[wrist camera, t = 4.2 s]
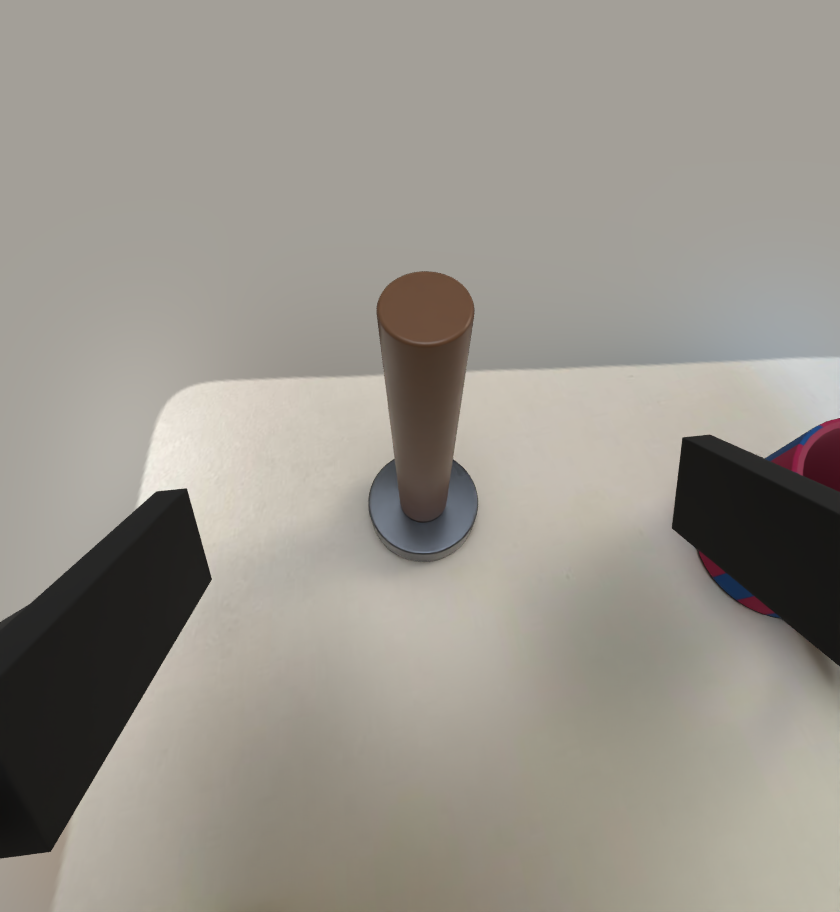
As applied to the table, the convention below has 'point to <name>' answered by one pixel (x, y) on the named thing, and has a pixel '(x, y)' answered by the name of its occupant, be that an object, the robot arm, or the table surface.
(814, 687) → the table surface
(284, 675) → the table surface
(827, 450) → the mug
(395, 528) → the brown rod
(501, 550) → the table surface
